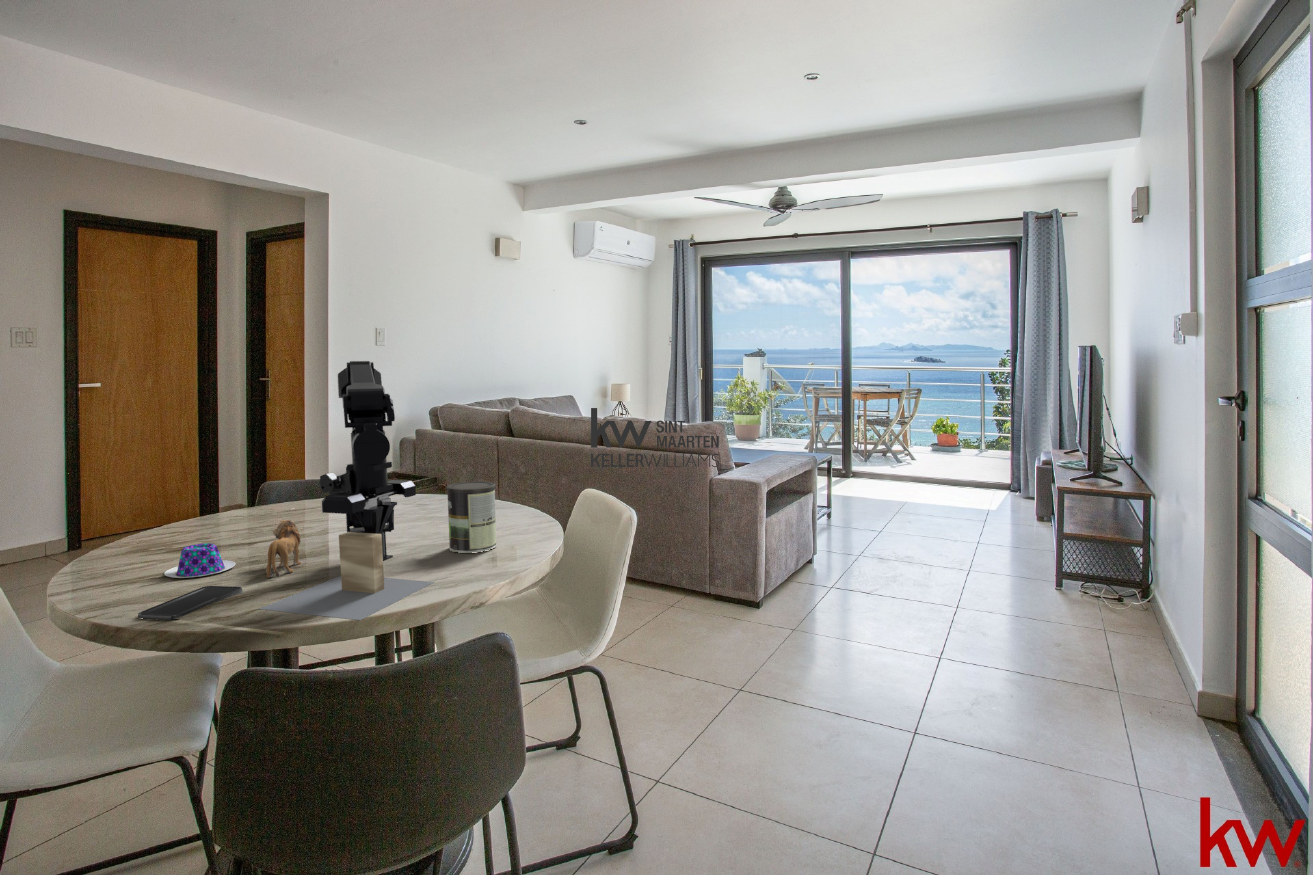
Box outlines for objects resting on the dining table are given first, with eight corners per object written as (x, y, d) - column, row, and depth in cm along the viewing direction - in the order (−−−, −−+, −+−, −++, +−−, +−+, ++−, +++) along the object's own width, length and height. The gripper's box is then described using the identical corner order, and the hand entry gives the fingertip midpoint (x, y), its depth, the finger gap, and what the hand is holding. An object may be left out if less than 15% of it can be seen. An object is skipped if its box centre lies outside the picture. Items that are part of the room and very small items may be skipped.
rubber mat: (344, 576, 135) (344, 574, 135) (434, 584, 129) (434, 582, 129) (258, 611, 116) (258, 608, 116) (360, 622, 110) (360, 619, 110)
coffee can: (445, 555, 150) (442, 489, 148) (453, 543, 160) (451, 481, 158) (494, 553, 151) (492, 488, 149) (499, 541, 161) (497, 480, 159)
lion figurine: (275, 561, 146) (272, 519, 145) (303, 558, 148) (301, 516, 147) (263, 581, 132) (260, 534, 131) (295, 578, 134) (292, 532, 133)
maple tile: (351, 585, 128) (348, 531, 127) (384, 588, 126) (381, 533, 125) (341, 589, 125) (338, 535, 124) (375, 593, 123) (372, 537, 122)
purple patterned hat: (203, 582, 133) (201, 555, 133) (148, 580, 135) (146, 553, 135) (249, 564, 145) (247, 539, 144) (198, 562, 147) (196, 538, 146)
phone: (134, 614, 113) (206, 585, 128) (134, 621, 113) (206, 591, 128) (177, 616, 112) (245, 586, 127) (178, 623, 112) (245, 592, 127)
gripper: (366, 450, 138) (370, 529, 139) (292, 463, 120) (298, 553, 121) (415, 451, 134) (419, 531, 136) (347, 465, 117) (352, 557, 118)
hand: (373, 542), depth 128 cm, fingers closed
